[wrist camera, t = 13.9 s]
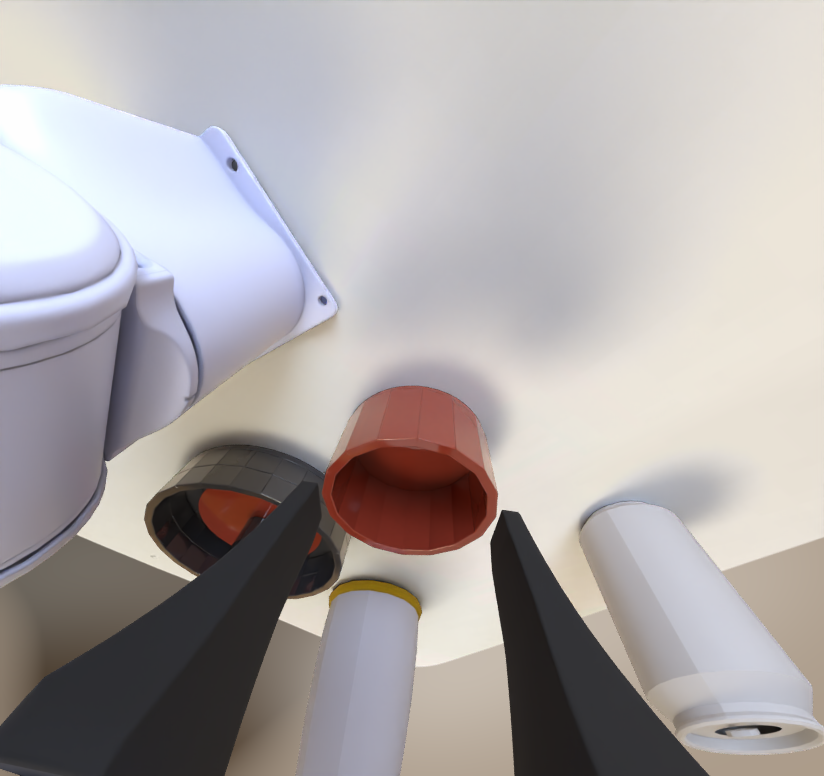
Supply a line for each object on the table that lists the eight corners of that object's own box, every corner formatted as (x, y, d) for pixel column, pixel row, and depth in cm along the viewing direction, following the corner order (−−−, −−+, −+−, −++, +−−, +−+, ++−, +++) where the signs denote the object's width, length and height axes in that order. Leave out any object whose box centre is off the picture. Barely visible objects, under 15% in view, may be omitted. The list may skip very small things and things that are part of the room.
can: (599, 558, 27) (695, 766, 17) (558, 518, 25) (641, 731, 15) (687, 530, 24) (869, 760, 14) (650, 480, 22) (837, 715, 12)
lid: (180, 483, 26) (136, 528, 22) (286, 460, 23) (256, 507, 20) (252, 553, 31) (226, 600, 27) (345, 541, 28) (331, 591, 25)
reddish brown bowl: (320, 417, 21) (287, 473, 17) (448, 361, 18) (452, 410, 14) (390, 503, 26) (379, 566, 21) (504, 470, 23) (521, 536, 18)
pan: (146, 477, 27) (102, 516, 23) (275, 418, 22) (244, 455, 18) (265, 568, 33) (246, 609, 30) (385, 539, 29) (377, 583, 25)
